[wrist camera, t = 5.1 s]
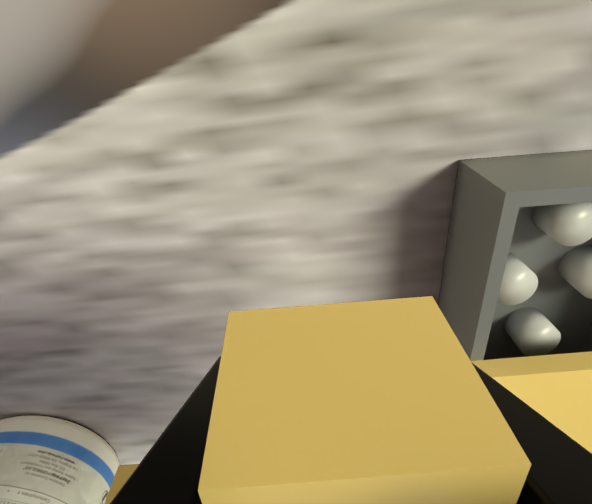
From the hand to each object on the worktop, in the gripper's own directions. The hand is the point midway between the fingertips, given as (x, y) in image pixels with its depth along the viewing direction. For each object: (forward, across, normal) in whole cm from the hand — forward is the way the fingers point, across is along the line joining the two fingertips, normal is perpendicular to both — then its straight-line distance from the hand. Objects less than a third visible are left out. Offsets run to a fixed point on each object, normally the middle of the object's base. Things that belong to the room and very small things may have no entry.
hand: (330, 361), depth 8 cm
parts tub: (+11, -11, +6) cm, 17 cm away
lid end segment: (0, 0, +4) cm, 4 cm away
